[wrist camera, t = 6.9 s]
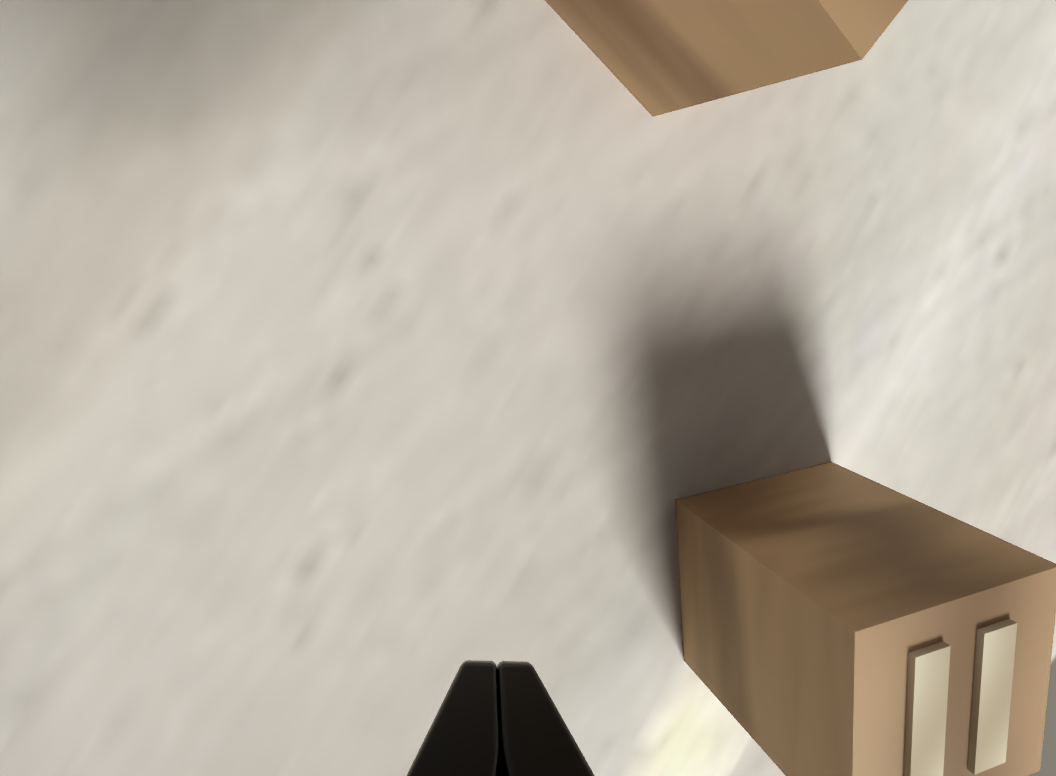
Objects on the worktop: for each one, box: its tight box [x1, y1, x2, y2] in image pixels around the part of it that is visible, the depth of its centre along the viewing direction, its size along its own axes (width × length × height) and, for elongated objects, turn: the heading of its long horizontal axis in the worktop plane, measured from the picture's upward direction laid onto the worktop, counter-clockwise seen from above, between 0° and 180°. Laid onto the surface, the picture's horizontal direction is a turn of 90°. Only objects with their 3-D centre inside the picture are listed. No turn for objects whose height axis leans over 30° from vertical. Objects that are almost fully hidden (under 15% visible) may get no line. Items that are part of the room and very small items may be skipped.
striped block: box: [676, 462, 1056, 776], centre depth 21 cm, size 6×6×8 cm
